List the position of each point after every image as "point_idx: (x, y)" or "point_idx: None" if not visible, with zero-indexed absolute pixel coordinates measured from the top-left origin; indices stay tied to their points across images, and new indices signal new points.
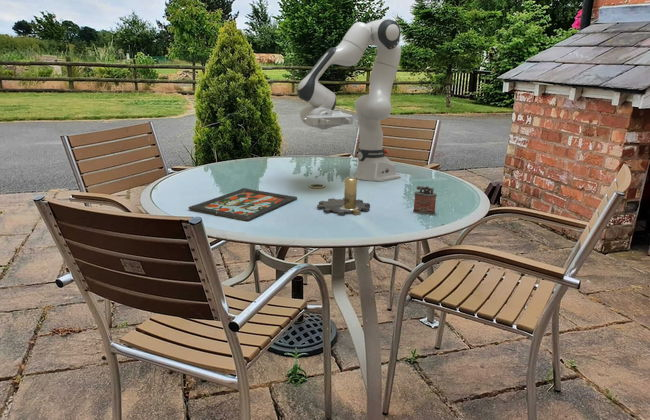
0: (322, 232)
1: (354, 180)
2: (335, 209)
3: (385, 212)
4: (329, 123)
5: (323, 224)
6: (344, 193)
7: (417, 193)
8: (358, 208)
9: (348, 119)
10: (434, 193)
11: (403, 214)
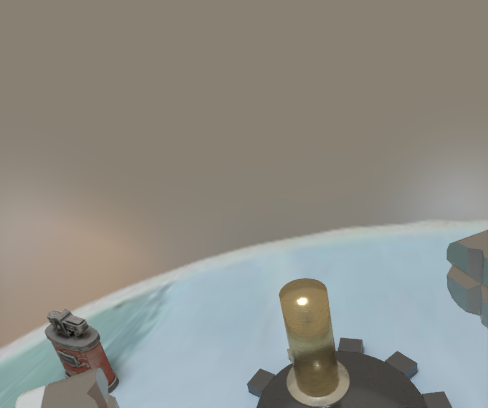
0: (395, 254)
1: (292, 283)
2: (371, 361)
3: (204, 377)
4: (456, 278)
5: (399, 288)
6: (333, 338)
7: (95, 330)
8: (288, 374)
9: (58, 383)
10: (49, 329)
11: (161, 362)
